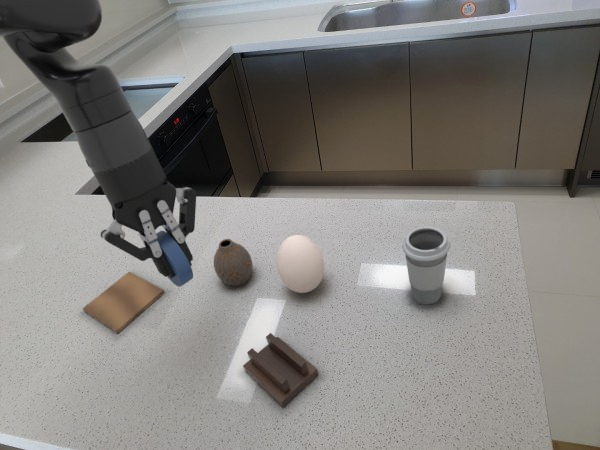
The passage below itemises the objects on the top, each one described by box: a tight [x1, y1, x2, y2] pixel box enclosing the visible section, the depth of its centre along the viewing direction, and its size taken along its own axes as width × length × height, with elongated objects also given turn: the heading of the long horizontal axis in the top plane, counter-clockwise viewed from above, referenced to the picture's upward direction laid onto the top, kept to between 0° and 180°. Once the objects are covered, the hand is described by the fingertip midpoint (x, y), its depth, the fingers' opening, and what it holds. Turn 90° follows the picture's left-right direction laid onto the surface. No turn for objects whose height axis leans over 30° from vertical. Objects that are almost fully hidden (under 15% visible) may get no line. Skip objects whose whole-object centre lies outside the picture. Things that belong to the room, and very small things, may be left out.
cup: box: [401, 225, 451, 305], centre depth 72 cm, size 7×7×12 cm
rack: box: [242, 332, 320, 409], centre depth 67 cm, size 7×9×4 cm
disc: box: [156, 230, 194, 288], centre depth 64 cm, size 2×8×8 cm
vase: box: [213, 238, 253, 287], centre depth 84 cm, size 7×7×9 cm
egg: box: [276, 234, 325, 294], centre depth 78 cm, size 8×8×11 cm
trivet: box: [82, 271, 165, 334], centre depth 86 cm, size 11×11×1 cm
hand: (179, 269), depth 63 cm, fingers closed on disc, 2 cm apart
